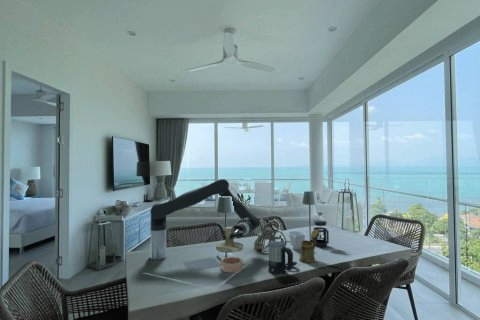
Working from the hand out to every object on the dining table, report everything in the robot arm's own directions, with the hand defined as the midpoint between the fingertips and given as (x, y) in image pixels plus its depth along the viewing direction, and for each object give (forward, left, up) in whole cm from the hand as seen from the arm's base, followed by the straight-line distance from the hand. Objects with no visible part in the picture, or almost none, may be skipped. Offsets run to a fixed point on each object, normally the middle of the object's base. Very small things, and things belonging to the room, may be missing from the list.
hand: (227, 236), depth 146 cm
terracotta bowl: (+3, 0, -18) cm, 18 cm away
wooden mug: (+51, -8, -18) cm, 55 cm away
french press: (+77, +10, -18) cm, 80 cm away
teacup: (+58, +13, -18) cm, 62 cm away
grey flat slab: (-9, +14, -18) cm, 25 cm away
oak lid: (+2, +2, -7) cm, 7 cm away
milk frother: (+27, -12, -18) cm, 35 cm away
